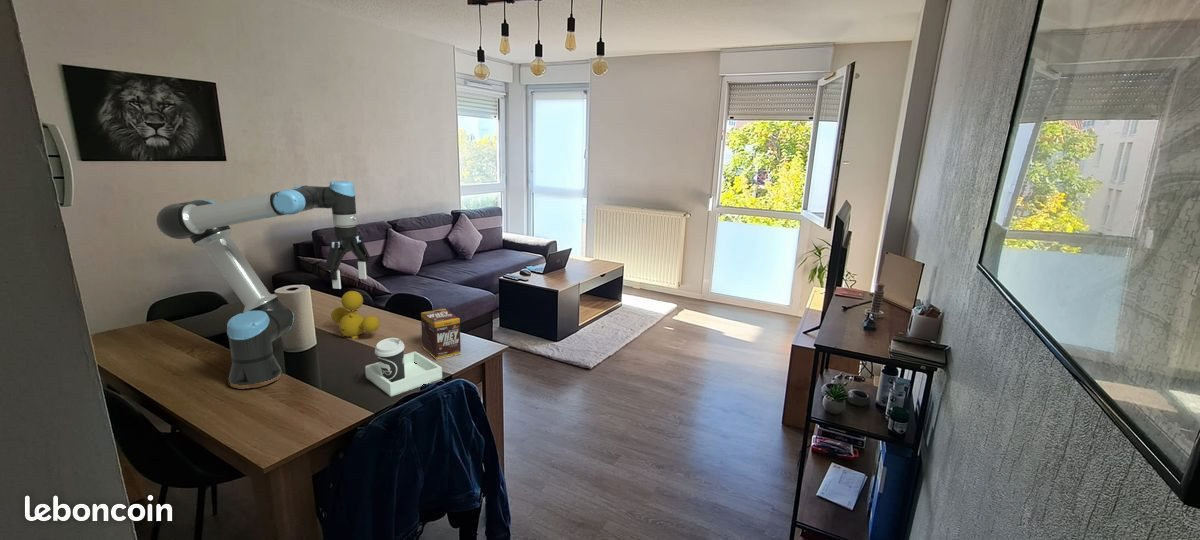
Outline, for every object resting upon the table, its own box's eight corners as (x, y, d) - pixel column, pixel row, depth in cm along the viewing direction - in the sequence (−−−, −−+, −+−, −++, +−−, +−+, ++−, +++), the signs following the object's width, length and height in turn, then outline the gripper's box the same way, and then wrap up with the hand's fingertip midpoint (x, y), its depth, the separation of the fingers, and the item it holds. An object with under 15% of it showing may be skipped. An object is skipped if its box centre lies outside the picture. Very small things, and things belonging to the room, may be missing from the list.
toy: (322, 333, 211) (317, 289, 206) (343, 326, 220) (339, 283, 215) (363, 346, 200) (360, 300, 195) (384, 338, 209) (381, 294, 204)
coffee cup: (410, 385, 169) (404, 348, 163) (380, 391, 165) (373, 353, 159) (408, 370, 177) (403, 334, 171) (380, 375, 173) (373, 339, 167)
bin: (390, 396, 162) (390, 384, 161) (366, 377, 174) (365, 366, 173) (442, 378, 176) (441, 367, 175) (415, 362, 188) (415, 351, 187)
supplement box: (436, 361, 190) (434, 323, 186) (422, 347, 201) (420, 312, 197) (461, 354, 196) (460, 318, 193) (446, 342, 208) (445, 307, 204)
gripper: (328, 232, 159) (334, 293, 164) (377, 221, 183) (381, 275, 188) (309, 230, 160) (315, 291, 166) (359, 220, 184) (364, 274, 189)
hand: (350, 283), depth 177 cm, fingers open, 13 cm apart
